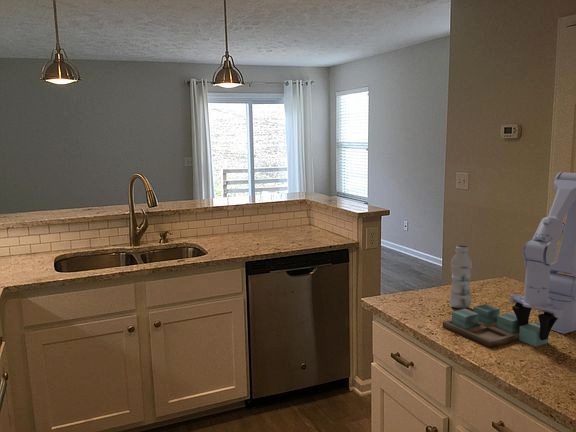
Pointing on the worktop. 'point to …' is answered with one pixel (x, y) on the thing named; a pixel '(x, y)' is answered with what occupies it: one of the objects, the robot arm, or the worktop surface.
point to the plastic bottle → (461, 278)
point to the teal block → (531, 335)
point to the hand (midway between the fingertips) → (533, 335)
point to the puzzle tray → (484, 325)
